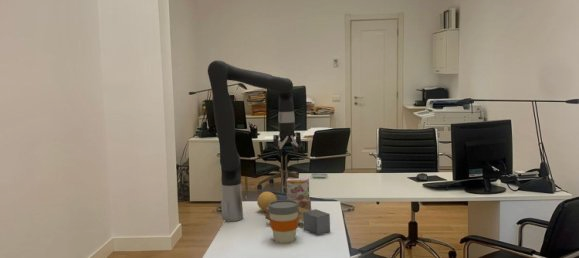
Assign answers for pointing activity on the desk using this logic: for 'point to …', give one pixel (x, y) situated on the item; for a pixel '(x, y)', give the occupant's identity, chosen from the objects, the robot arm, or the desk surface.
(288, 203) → the reusable coffee cup
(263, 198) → the stress ball
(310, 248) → the desk surface
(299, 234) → the desk surface
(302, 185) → the candy bar box
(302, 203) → the walnut block
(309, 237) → the desk surface
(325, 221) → the grey sleeve
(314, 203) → the desk surface
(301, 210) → the brass bar
